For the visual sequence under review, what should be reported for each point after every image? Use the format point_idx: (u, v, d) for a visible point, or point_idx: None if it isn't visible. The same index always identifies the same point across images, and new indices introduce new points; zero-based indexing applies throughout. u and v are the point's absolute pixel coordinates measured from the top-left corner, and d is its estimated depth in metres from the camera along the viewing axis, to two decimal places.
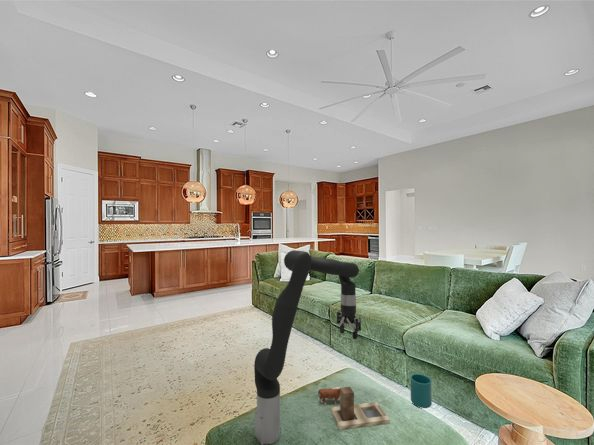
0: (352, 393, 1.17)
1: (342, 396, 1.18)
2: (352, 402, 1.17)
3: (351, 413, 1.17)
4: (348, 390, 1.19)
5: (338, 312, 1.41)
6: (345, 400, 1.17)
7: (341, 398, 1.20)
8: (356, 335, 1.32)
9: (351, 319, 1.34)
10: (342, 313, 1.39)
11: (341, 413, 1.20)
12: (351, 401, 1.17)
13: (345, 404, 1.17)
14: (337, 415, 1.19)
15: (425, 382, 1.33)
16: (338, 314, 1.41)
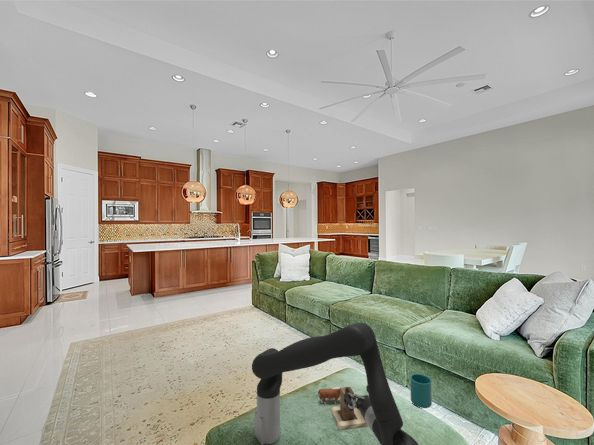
0: (352, 393, 1.17)
1: (342, 396, 1.18)
2: None
3: (351, 413, 1.17)
4: None
5: None
6: None
7: (341, 398, 1.20)
8: (345, 393, 1.06)
9: (358, 401, 0.99)
10: None
11: (341, 413, 1.20)
12: None
13: (345, 404, 1.17)
14: (337, 415, 1.19)
15: (425, 382, 1.33)
16: None
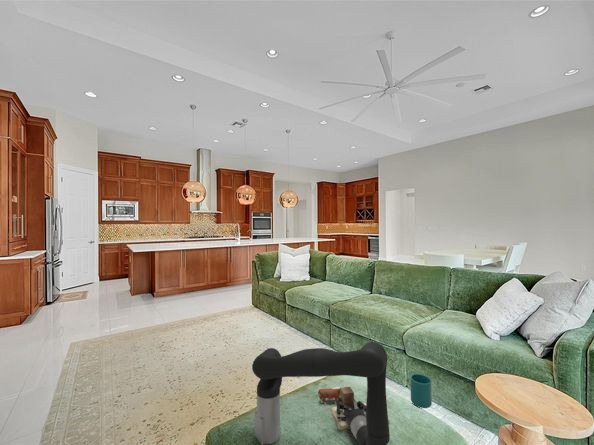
0: (352, 393, 1.17)
1: (342, 396, 1.18)
2: (352, 402, 1.17)
3: None
4: (348, 390, 1.19)
5: None
6: (345, 400, 1.17)
7: (341, 398, 1.20)
8: (338, 402, 1.19)
9: (345, 411, 1.12)
10: None
11: None
12: (351, 401, 1.17)
13: None
14: None
15: (425, 382, 1.33)
16: (365, 408, 1.14)
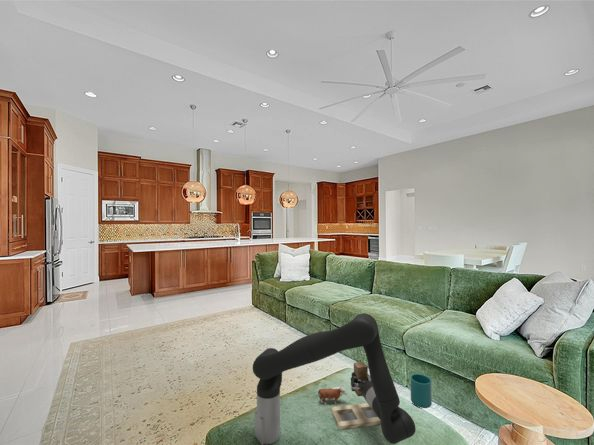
0: (366, 367, 1.18)
1: (356, 370, 1.19)
2: (366, 376, 1.18)
3: None
4: (361, 365, 1.20)
5: None
6: (359, 374, 1.18)
7: (355, 373, 1.20)
8: (352, 376, 1.20)
9: (359, 383, 1.13)
10: None
11: None
12: (365, 376, 1.18)
13: None
14: (337, 415, 1.19)
15: (425, 382, 1.33)
16: None
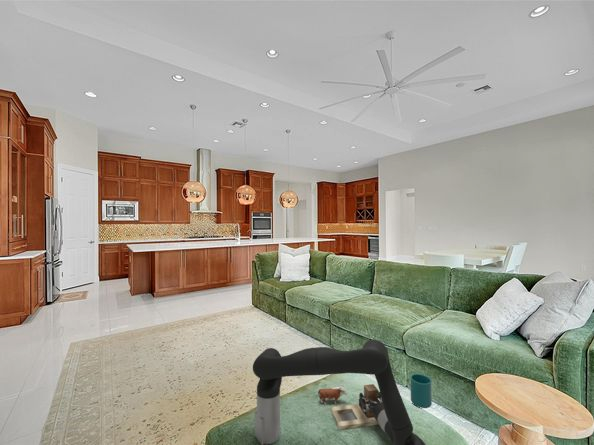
0: (376, 390, 1.19)
1: (366, 393, 1.20)
2: (376, 399, 1.19)
3: None
4: (372, 387, 1.21)
5: None
6: (370, 397, 1.19)
7: (365, 395, 1.21)
8: (360, 397, 1.21)
9: (371, 405, 1.14)
10: None
11: None
12: (375, 399, 1.19)
13: None
14: (337, 415, 1.19)
15: (425, 382, 1.33)
16: None
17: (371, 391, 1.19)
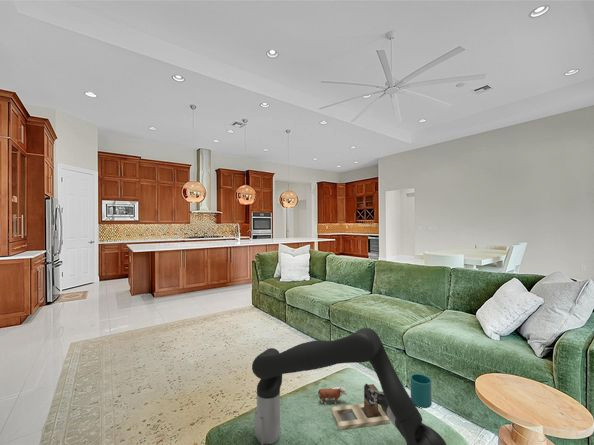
0: None
1: None
2: None
3: (375, 410, 1.19)
4: (372, 387, 1.21)
5: None
6: None
7: None
8: (365, 389, 1.09)
9: (379, 396, 1.02)
10: None
11: (365, 410, 1.21)
12: None
13: None
14: (337, 415, 1.19)
15: (425, 382, 1.33)
16: None
17: None
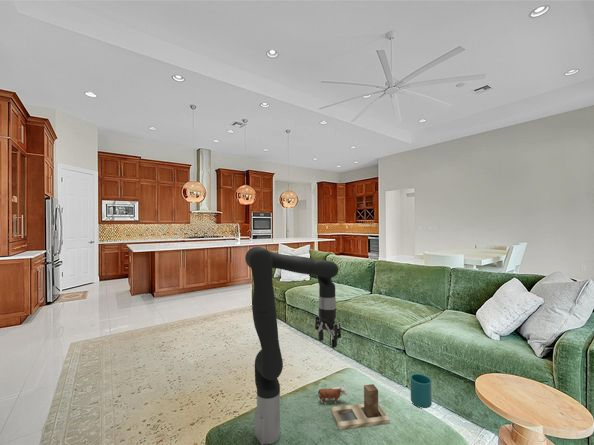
0: (376, 390, 1.19)
1: (366, 393, 1.20)
2: (376, 399, 1.19)
3: (375, 410, 1.19)
4: (372, 387, 1.21)
5: (316, 317, 1.25)
6: (370, 397, 1.19)
7: (365, 395, 1.21)
8: (335, 343, 1.17)
9: (330, 325, 1.18)
10: (321, 318, 1.23)
11: (365, 410, 1.21)
12: (375, 399, 1.19)
13: (370, 401, 1.19)
14: (337, 415, 1.19)
15: (425, 382, 1.33)
16: (316, 319, 1.25)
17: (371, 391, 1.19)
